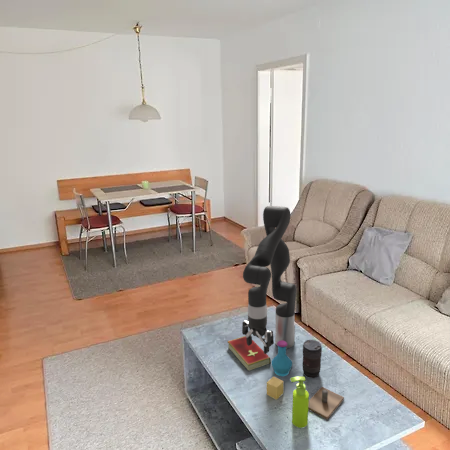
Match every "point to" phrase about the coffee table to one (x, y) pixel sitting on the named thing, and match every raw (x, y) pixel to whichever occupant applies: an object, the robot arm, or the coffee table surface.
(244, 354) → the hardcover book
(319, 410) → the post board
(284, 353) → the perfume bottle
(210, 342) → the coffee table surface
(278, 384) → the tan wooden block
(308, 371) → the camera lens
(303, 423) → the soap dispenser
